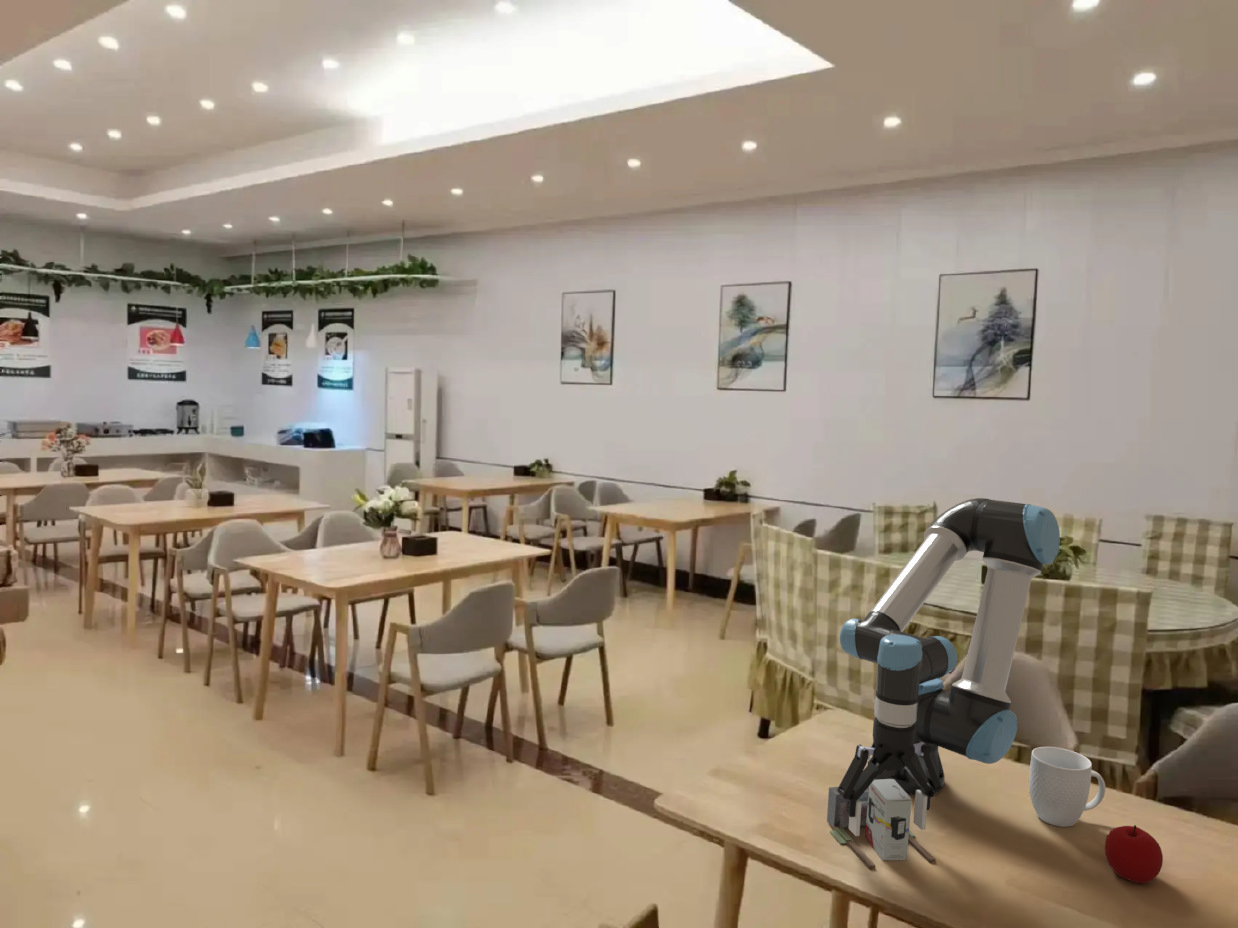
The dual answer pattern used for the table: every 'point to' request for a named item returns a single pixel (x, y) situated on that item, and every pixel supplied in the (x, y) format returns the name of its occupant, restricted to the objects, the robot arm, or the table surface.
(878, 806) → the ink box
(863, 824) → the grey block
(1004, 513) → the robot arm
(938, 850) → the table surface
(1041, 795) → the mug
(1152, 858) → the apple
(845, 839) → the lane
